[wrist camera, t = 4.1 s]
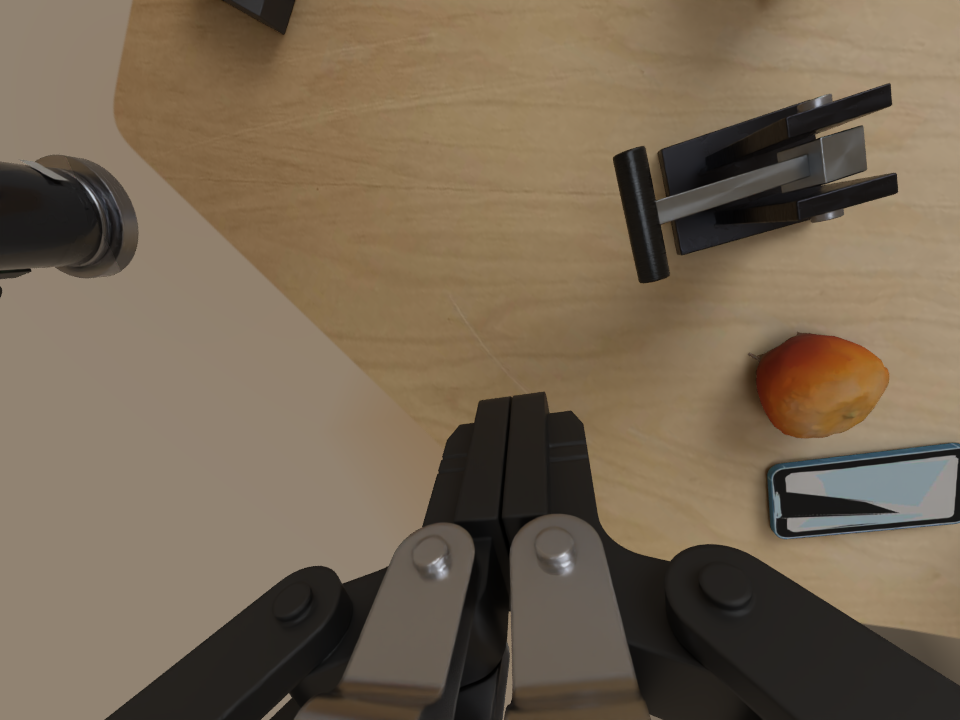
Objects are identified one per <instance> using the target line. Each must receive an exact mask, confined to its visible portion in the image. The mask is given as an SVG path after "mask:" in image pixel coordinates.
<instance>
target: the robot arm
mask: <svg viewBox="0 0 960 720" xmlns="http://www.w3.org/2000/svg"><path fill="white" fill-rule="evenodd" d="M21 161H22V162H24V163H26V164H28V165H29V166H28V165H20V164H14V163H6V162H0V279H5V278H16V277H19V276H21V275H24V274H26V273H29V272H31V269H30V268H45V267H60V266H72V267H75V266H87V265H91V264H94V263H96V262H97V261H99V260H100V259H101V258H102V257H103V256H104V254H105V253H106V251H107V249H108V247H109V244H110V239H111V223H110V218H109V214H108V211H107V208H106V206H105V204H104V202H103V200H102V198H101V197H100V195H99V194H98V192H97V191H96V190H95V188H94V187H93V186H92V185H91V184H90V183H89V182H88V181H87V180H86V179H84V178H83V177H81V176H80V175H78V174H76V173H74V172H72V171H69V170H66V169H59V168H50V167H48V168H45V167H44V166H42V165H40V164H38V163H36V162H32V161H25V160H21ZM1 294H2V288H1V287H0V297H1ZM442 457H443V460H441V463H440V467H439V470H438V471H439V474H437V477H436V481H435V484H434V487H433V491H432V494H431V498H430V501H429V505H428V509H427V512H426V516H425V519H424V523H423V526H422V528H420V529H418V530H416V531H415V532H413V533H412V534H410V535H409V536H408V537H407V538H406V539H405V540H404V541H403V542H402V543H401V544H400V545H399V547H398V548H397V550H396V551H395V553H394V555H393V557H392V560H391V562H390V564H389V566H388V567H386V568H384V569H381V570H379V571H376V572H374V573H371V574H368V575H365V576H363V577H360V578H357V579H354V580H351V581H349V582H346V583H343V584H342V583H341V581H340V579H339V577H338V576H337V574H336V573H335V572H334V571H333V570H332V569H330V568H327V567H323V566H313V567H307V568H304V569H301V570H298V571H296V572H294V573H292V574H290V575H289V576H287V577H285V578H284V579H283V580H282V581H280V582H279V583H277V584H276V585H275V586H273V587H272V588H271V589H270V590H268V591H267V592H266V593H265V594H263V595H262V596H261V597H260V598H258V599H257V600H256V601H254V602H253V603H252V604H251V605H250V606H248V607H247V608H246V609H244V610H243V611H242V612H241V613H239V614H238V615H237V616H235V617H234V618H233V619H232V620H231V621H229V622H228V623H227V624H225V625H224V626H223V627H222V628H220V629H219V630H218V631H216V632H215V633H214V634H213V635H211V636H210V637H209V638H208V639H206V640H205V641H204V642H203V643H201V644H200V645H199V646H197V647H196V648H195V649H194V650H192V651H191V652H190V653H189V654H187V655H186V656H185V657H184V658H182V659H181V660H180V661H179V662H177V663H176V664H175V665H173V666H172V667H171V668H170V669H169V670H167V671H166V672H165V673H163V674H162V675H161V676H159V677H158V678H157V679H156V680H154V681H153V682H152V683H151V684H149V685H148V686H147V687H146V688H144V689H143V690H142V691H140V692H139V693H138V694H137V695H135V696H134V697H133V698H132V699H130V700H129V701H128V702H126V703H125V704H124V705H123V706H121V707H120V708H119V709H118V710H116V711H115V712H114V713H113V714H111V715H110V716H109V717H107V718H106V719H105V720H261V719H262V718H263V717H264V716H265V715H266V714H267V713H268V712H269V711H270V710H271V709H272V708H273V707H275V706H276V705H277V704H278V703H279V702H280V701H281V700H282V699H283V698H284V697H285V696H286V695H287V694H288V693H289V694H290V695H291V697H292V699H290V700H289V701H288V703H286V704H285V705H284V706H283V707H282V708H281V709H280V710H279V711H278V712H277V713H276V714H275V715H274V716H273V717H272V718H271V719H270V720H502V719H503V710H504V702H505V693H506V685H507V677H508V668H509V658H510V653H509V646H508V643H507V630H508V613H509V611H511V636H512V676H513V677H512V679H513V689H512V691H513V693H512V700H511V703H510V704H509V705H508V706H507V707H506V711H505V717H504V720H651V718H650V715H653V716H655V717H658V718H661V719H663V720H960V686H959V685H958V684H956V683H954V682H953V681H951V680H950V679H948V678H946V677H945V676H943V675H942V674H940V673H938V672H937V671H935V670H934V669H932V668H931V667H929V666H927V665H926V664H924V663H922V662H921V661H919V660H918V659H916V658H915V657H913V656H911V655H910V654H908V653H906V652H905V651H903V650H902V649H900V648H899V647H897V646H896V645H894V644H892V643H891V642H889V641H888V640H886V639H884V638H883V637H881V636H880V635H878V634H876V633H875V632H873V631H872V630H870V629H868V628H867V627H865V626H864V625H862V624H861V623H859V622H857V621H856V620H854V619H853V618H851V617H849V616H848V615H846V614H845V613H843V612H842V611H840V610H838V609H837V608H835V607H834V606H832V605H830V604H829V603H827V602H826V601H824V600H822V599H821V598H819V597H818V596H816V595H814V594H813V593H811V592H810V591H808V590H807V589H805V588H803V587H802V586H800V585H799V584H797V583H795V582H794V581H792V580H791V579H789V578H787V577H786V576H784V575H783V574H781V573H780V572H778V571H776V570H775V569H773V568H772V567H770V566H768V565H767V564H765V563H764V562H762V561H760V560H759V559H757V558H755V557H754V556H752V555H750V554H748V553H746V552H743V551H741V550H739V549H735V548H732V547H728V546H723V545H714V544H705V545H697V546H693V547H690V548H687V549H685V550H683V551H681V552H680V553H679V554H677V555H676V556H675V557H674V558H673V559H672V560H671V561H666V560H661V559H657V558H653V557H648V556H644V555H641V554H637V553H634V552H632V551H630V550H627V549H625V548H624V547H622V546H620V545H619V544H617V543H616V542H615V541H614V540H612V539H611V538H610V537H609V536H608V535H607V533H606V532H605V531H604V529H603V528H602V526H601V524H600V521H599V518H598V513H597V507H596V501H595V494H594V488H593V482H592V476H591V469H590V463H589V457H588V450H587V444H586V438H585V432H584V425H583V423H582V422H581V421H580V420H579V419H578V417H577V416H576V415H575V414H574V413H573V412H572V411H565V412H557V413H549V408H548V402H547V398H546V394H545V392H538V393H531V394H523V395H516V396H513V397H511V396H509V397H502V398H495V399H487V400H480V401H479V403H478V408H477V412H476V417H475V422H474V423H470V424H462V425H459V426H458V428H457V429H456V430H455V431H454V432H453V434H452V435H451V436H450V437H449V438H448V440H447V442H446V446H445V449H444V453H443V456H442ZM649 714H650V715H649Z"/></svg>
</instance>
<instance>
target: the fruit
mask: <svg viewBox="0 0 960 720" xmlns="http://www.w3.org/2000/svg"><path fill="white" fill-rule="evenodd" d="M797 333H798V332H797ZM748 355H749V356H751V357H753V358H754V359H756V360H758V362H759V365H758V367H757V370H756V375H757V378H756V385H757V392H758V395H759V398H760V402H761V404H762V406H763V409H764V411H765V413H766V415H767V416H768V418H769V419H770V421H771V422H772V424H773V425H774V426H775V427H776V428H777V429H779V430H780V431H781V432H782V433H784V434H786V435H790V436H793V437H796V438H823V437H828V436H830V435H833V434H836V433H842V432H844V431H847V430H849V429H850V428H852V427H853V426H855V425H856V424H858V423H860V422H862V421H863V420H864V419H865V418H866V417H867V416H868V414H869V413H870V412H871V411H872V410H873V409H874V407H875V406H876V404H877V402H878V401H879V399H880V397H881V396H882V394H883V393H884V391H885V389H886V388H887V386H888V383H889V372H888V370H887V368H885V367H884V365H883V363H882V361H881V360H880V359H879V358H878V357H877V356H875V355H874V354H873V353H871V352H870V351H869V350H867V349H866V348H864V347H862V346H860V345H858V344H855V343H853V342H850V341H847V340H844V339H841V338H839V337H835V336H825V335H816V334H810V333H798V334H797V336H795V337H792V338H790V339H788V340H787V341H785V342H784V343H783V344H781V345H780V346H778V347H776V348H774V349H772V350H770V351H769V352H767V353H764V354H761V355H758V356H756V355H753V354H751V353H749V354H748Z"/></svg>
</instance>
